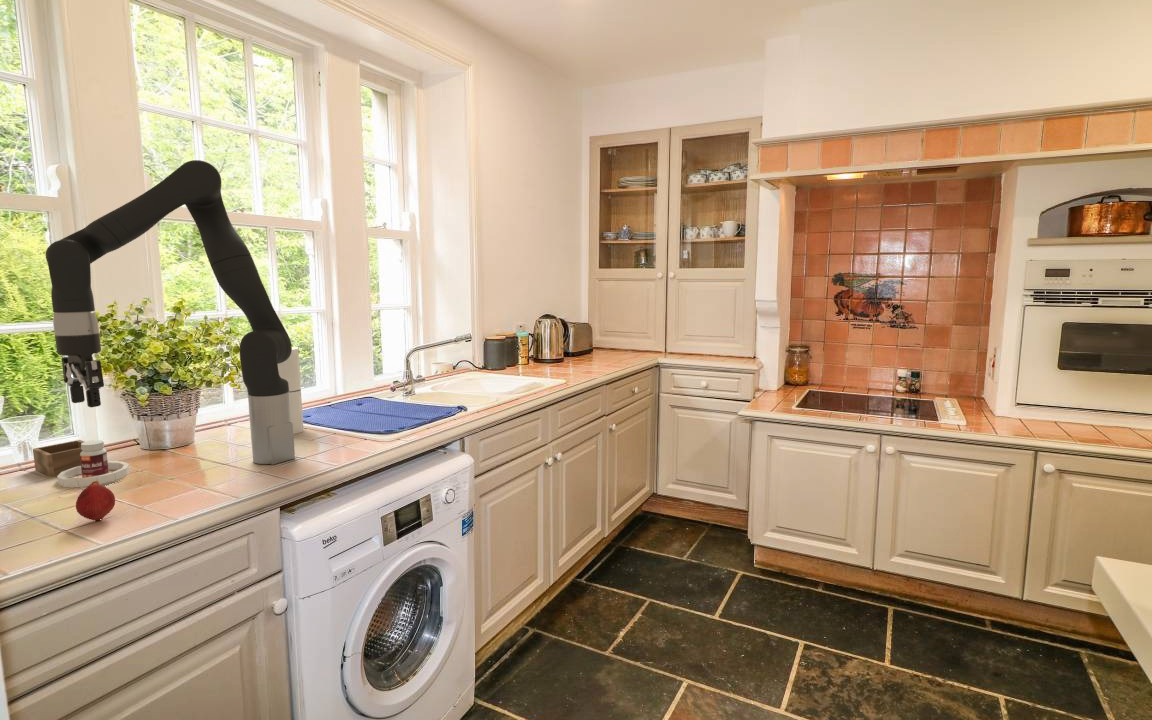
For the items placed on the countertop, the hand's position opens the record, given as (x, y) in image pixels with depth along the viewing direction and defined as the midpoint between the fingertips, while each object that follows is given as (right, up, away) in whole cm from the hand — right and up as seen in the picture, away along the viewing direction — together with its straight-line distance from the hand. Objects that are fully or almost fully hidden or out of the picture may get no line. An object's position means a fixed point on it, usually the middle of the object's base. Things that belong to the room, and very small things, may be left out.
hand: (86, 404), depth 132 cm
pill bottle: (0, -17, +3) cm, 17 cm away
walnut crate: (-12, -17, +9) cm, 22 cm away
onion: (+18, -21, -19) cm, 34 cm away
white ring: (0, -18, +3) cm, 18 cm away
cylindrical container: (+24, -12, +45) cm, 52 cm away
